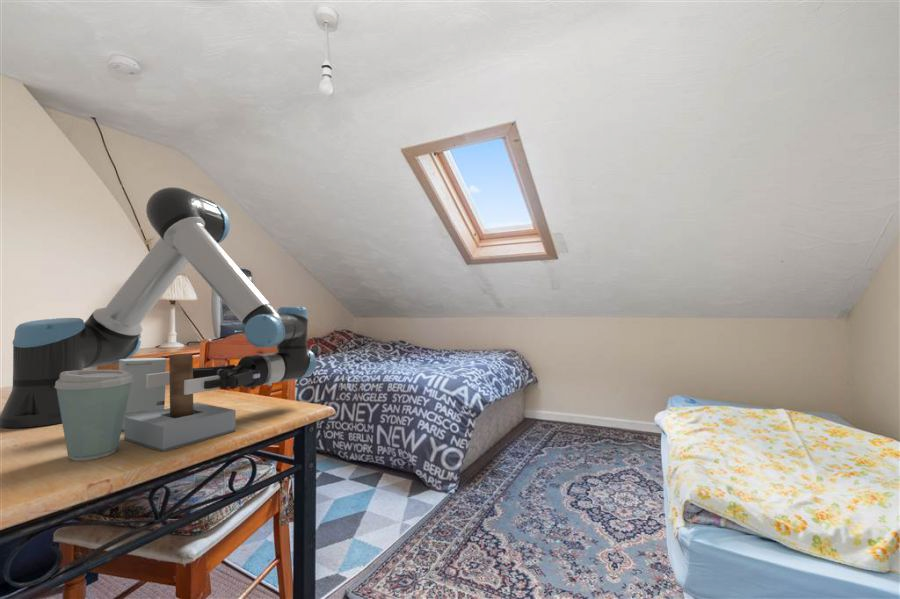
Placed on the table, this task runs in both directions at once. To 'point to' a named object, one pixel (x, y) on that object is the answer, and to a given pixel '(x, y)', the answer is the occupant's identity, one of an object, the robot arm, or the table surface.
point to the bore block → (178, 427)
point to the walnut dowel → (180, 385)
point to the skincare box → (143, 385)
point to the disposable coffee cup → (92, 411)
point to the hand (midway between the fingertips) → (165, 384)
